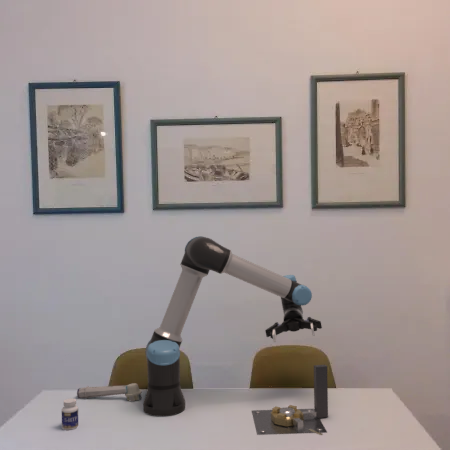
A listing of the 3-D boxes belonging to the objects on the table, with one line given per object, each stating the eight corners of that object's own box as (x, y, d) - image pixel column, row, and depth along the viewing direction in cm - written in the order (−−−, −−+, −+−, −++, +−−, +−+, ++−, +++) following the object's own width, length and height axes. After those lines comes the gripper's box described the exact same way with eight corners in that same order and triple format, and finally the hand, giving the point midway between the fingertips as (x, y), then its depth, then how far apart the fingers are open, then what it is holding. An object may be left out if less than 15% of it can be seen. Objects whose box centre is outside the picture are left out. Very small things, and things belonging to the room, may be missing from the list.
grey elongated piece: (81, 385, 197) (141, 378, 193) (83, 402, 197) (144, 396, 193) (75, 390, 192) (137, 383, 188) (78, 407, 192) (139, 400, 188)
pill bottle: (63, 431, 162) (62, 404, 162) (60, 425, 167) (60, 399, 167) (80, 428, 165) (79, 401, 165) (76, 422, 170) (76, 396, 170)
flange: (257, 440, 153) (257, 425, 153) (251, 413, 175) (251, 400, 175) (328, 438, 154) (328, 423, 154) (313, 411, 176) (313, 398, 176)
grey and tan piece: (277, 427, 160) (276, 374, 159) (268, 415, 169) (267, 365, 169) (333, 421, 164) (332, 369, 163) (320, 410, 173) (320, 361, 173)
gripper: (327, 323, 193) (331, 340, 172) (263, 334, 196) (260, 351, 175) (323, 304, 192) (327, 318, 171) (259, 315, 196) (256, 330, 175)
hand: (293, 335), depth 173 cm, fingers open, 13 cm apart
